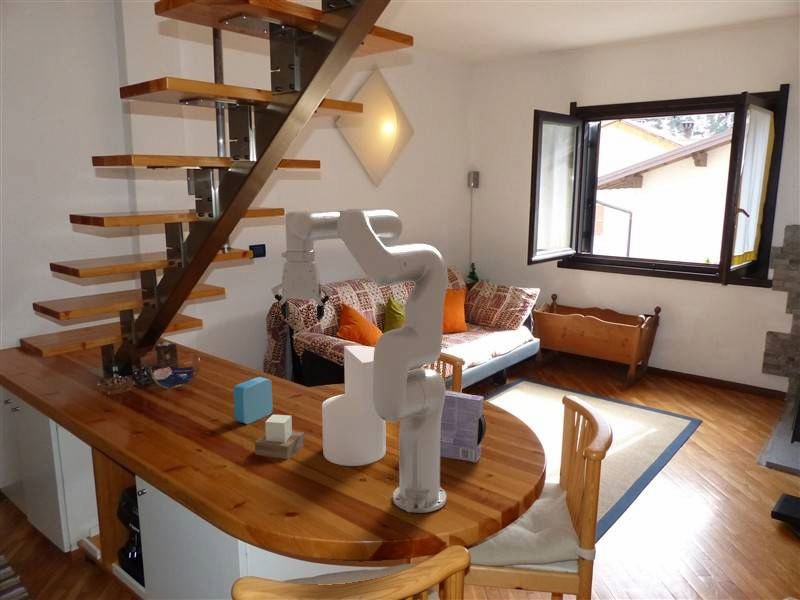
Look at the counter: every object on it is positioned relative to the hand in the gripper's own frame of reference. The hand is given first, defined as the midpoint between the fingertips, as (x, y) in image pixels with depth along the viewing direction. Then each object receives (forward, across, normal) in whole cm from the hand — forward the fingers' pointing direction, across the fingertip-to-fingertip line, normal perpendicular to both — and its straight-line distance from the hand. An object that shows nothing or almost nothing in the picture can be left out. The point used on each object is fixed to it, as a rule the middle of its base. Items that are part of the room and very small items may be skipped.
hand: (303, 318), depth 168 cm
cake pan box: (+36, +41, -3) cm, 55 cm away
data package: (+36, -22, +14) cm, 45 cm away
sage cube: (+33, -6, -6) cm, 34 cm away
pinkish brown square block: (+37, -6, -6) cm, 38 cm away
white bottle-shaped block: (+36, +15, -5) cm, 40 cm away
